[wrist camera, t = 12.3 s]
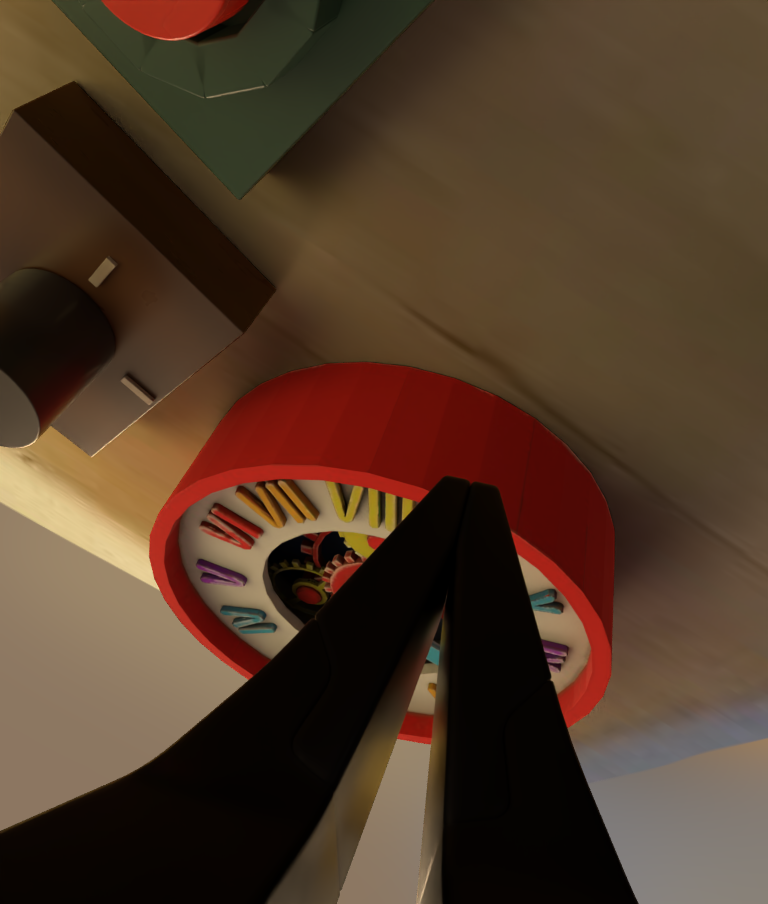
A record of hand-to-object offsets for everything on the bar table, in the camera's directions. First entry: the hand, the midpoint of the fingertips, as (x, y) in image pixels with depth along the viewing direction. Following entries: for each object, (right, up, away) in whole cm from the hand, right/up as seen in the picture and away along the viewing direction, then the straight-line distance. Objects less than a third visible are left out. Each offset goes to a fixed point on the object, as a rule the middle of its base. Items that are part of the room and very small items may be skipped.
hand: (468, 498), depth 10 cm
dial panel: (-12, +8, +16) cm, 22 cm away
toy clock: (-1, -3, +22) cm, 22 cm away
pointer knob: (-13, +6, +14) cm, 20 cm away
